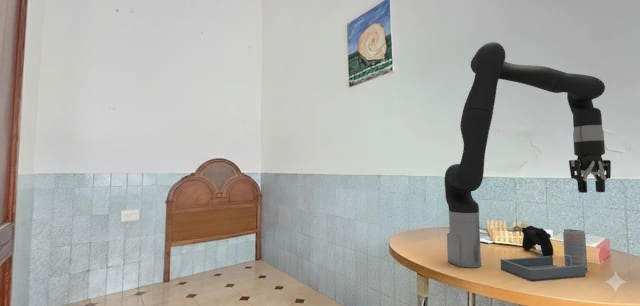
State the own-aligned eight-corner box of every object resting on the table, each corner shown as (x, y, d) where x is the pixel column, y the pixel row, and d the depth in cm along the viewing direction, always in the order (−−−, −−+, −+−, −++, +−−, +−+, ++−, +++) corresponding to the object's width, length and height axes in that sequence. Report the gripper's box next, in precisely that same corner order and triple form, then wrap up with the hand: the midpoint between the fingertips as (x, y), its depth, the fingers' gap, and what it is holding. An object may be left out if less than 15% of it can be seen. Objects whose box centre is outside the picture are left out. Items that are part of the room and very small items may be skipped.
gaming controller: (560, 259, 107) (559, 230, 107) (543, 259, 107) (541, 230, 108) (533, 249, 121) (532, 223, 122) (517, 249, 121) (516, 223, 122)
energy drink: (584, 268, 97) (581, 229, 97) (590, 273, 92) (587, 232, 93) (562, 266, 99) (560, 228, 100) (568, 271, 94) (565, 231, 95)
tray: (531, 281, 86) (531, 270, 86) (501, 269, 96) (500, 259, 96) (585, 276, 89) (584, 265, 89) (550, 265, 100) (549, 256, 100)
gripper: (582, 138, 94) (586, 193, 93) (619, 139, 97) (623, 192, 96) (559, 141, 102) (562, 192, 101) (593, 142, 105) (597, 191, 104)
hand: (591, 192), depth 99 cm, fingers open, 6 cm apart
